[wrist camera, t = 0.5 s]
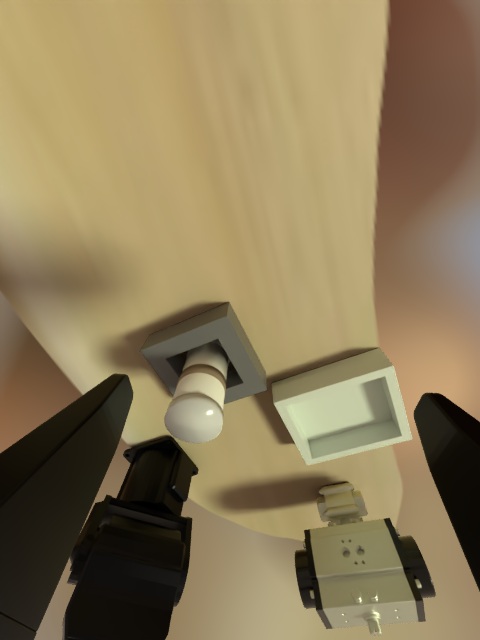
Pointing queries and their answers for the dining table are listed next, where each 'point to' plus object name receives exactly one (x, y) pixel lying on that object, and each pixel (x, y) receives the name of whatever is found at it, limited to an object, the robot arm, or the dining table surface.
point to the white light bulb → (199, 395)
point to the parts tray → (343, 407)
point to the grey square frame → (198, 331)
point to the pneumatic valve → (360, 567)
